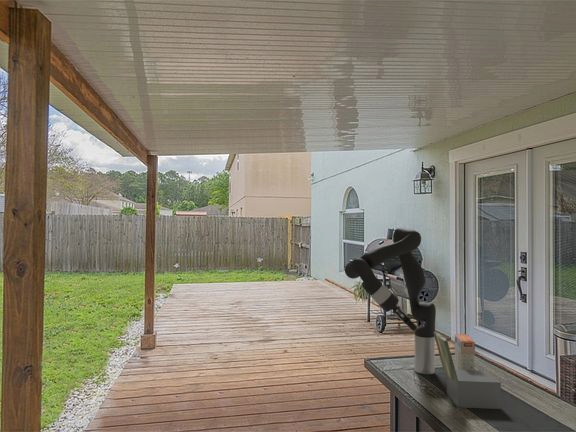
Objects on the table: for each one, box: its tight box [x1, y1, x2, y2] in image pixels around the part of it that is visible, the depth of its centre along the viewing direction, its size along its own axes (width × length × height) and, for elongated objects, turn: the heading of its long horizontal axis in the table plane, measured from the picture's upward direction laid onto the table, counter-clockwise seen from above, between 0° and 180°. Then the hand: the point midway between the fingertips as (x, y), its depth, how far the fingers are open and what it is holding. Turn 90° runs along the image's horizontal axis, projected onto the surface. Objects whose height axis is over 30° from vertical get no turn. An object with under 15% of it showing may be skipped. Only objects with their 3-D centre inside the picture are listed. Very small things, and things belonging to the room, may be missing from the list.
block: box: [446, 369, 502, 410], centre depth 169 cm, size 14×16×10 cm
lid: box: [433, 331, 458, 382], centre depth 170 cm, size 15×16×1 cm
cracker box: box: [454, 333, 476, 370], centre depth 187 cm, size 14×6×21 cm, turn 168°
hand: (414, 328), depth 171 cm, fingers closed
